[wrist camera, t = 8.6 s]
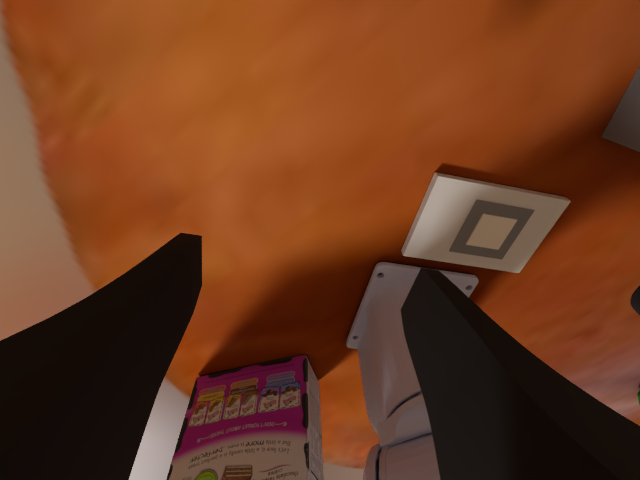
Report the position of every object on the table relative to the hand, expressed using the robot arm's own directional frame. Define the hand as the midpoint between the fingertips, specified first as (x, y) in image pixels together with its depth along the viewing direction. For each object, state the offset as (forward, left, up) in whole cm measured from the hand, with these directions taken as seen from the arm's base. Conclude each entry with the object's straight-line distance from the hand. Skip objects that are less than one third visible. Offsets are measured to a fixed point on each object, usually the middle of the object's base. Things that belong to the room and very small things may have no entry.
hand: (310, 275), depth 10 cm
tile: (-2, -12, -10) cm, 16 cm away
